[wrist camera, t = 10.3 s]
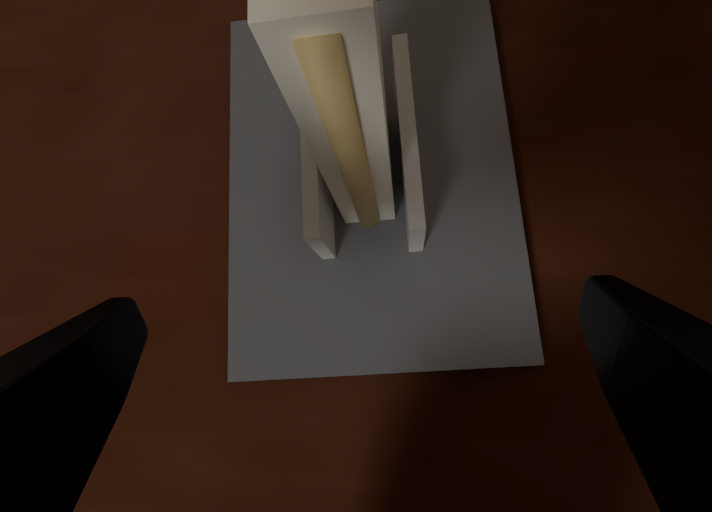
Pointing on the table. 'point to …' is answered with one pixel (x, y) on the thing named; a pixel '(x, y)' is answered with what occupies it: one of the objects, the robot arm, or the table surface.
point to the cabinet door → (334, 94)
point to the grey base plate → (389, 237)
